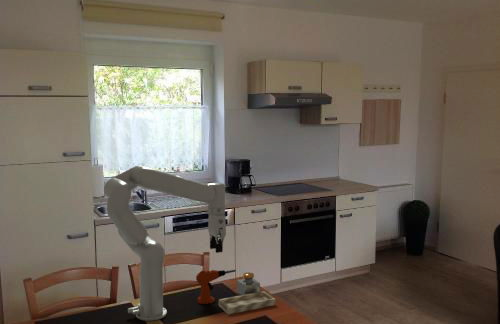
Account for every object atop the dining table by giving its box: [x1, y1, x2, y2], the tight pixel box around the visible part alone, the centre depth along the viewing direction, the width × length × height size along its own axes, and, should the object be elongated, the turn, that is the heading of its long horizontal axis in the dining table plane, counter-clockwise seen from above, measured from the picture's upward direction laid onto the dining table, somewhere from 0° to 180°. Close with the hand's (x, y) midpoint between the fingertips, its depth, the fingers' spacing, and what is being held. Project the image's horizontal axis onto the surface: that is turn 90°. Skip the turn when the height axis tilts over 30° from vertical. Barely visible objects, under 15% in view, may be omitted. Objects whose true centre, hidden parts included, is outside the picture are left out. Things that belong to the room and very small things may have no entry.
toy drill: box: [195, 269, 236, 305], centre depth 206 cm, size 5×19×15 cm, turn 105°
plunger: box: [242, 272, 255, 284], centre depth 215 cm, size 5×5×9 cm
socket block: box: [236, 277, 261, 296], centre depth 215 cm, size 8×8×6 cm
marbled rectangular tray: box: [218, 291, 276, 315], centre depth 202 cm, size 23×10×3 cm, turn 117°
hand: (216, 250), depth 204 cm, fingers open, 5 cm apart
